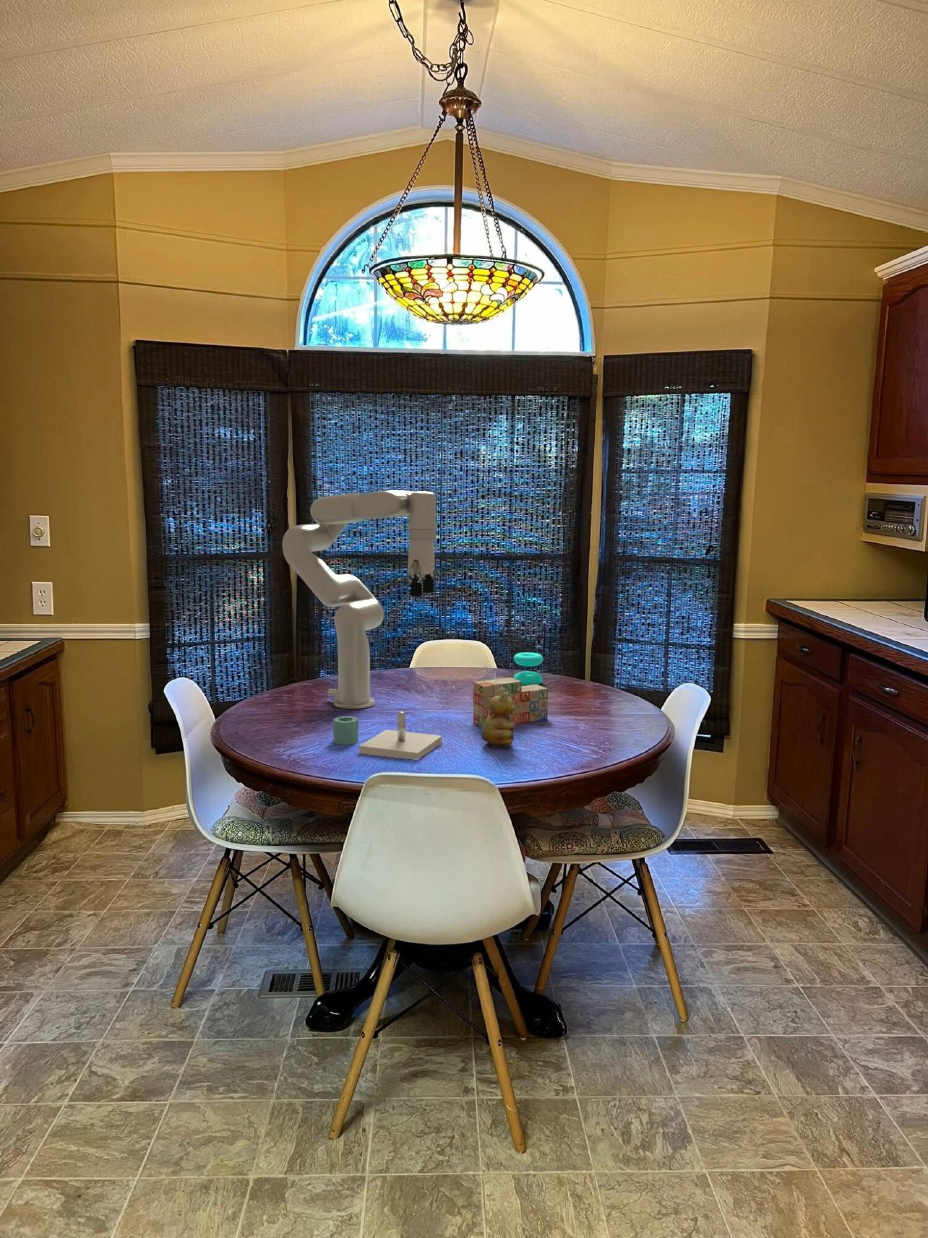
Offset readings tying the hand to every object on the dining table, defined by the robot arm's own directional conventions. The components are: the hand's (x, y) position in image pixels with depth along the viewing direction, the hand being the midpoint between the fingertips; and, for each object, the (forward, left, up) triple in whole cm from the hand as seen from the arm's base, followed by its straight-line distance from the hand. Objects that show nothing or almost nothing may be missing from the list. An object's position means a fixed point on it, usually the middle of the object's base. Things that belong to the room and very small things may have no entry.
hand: (422, 594), depth 259 cm
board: (+8, -34, -35) cm, 50 cm away
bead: (-8, -34, -36) cm, 49 cm away
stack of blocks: (+27, +3, -36) cm, 45 cm away
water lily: (+15, +27, -36) cm, 47 cm away
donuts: (+17, +51, -36) cm, 65 cm away
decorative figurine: (+30, -22, -36) cm, 52 cm away
